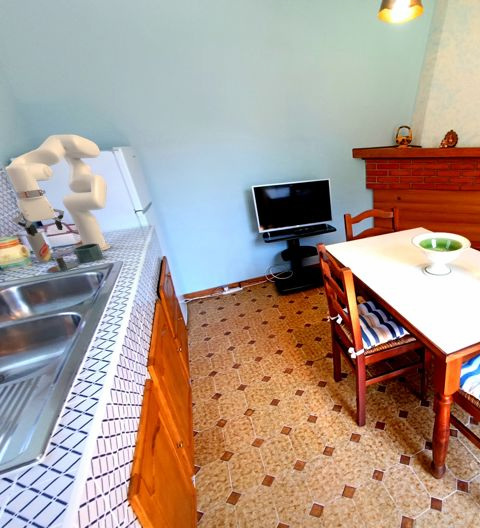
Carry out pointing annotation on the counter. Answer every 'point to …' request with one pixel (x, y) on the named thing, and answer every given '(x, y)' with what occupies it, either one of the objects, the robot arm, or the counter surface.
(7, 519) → the counter surface
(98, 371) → the counter surface
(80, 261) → the pot
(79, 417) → the counter surface
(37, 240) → the lotion bottle
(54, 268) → the lid
